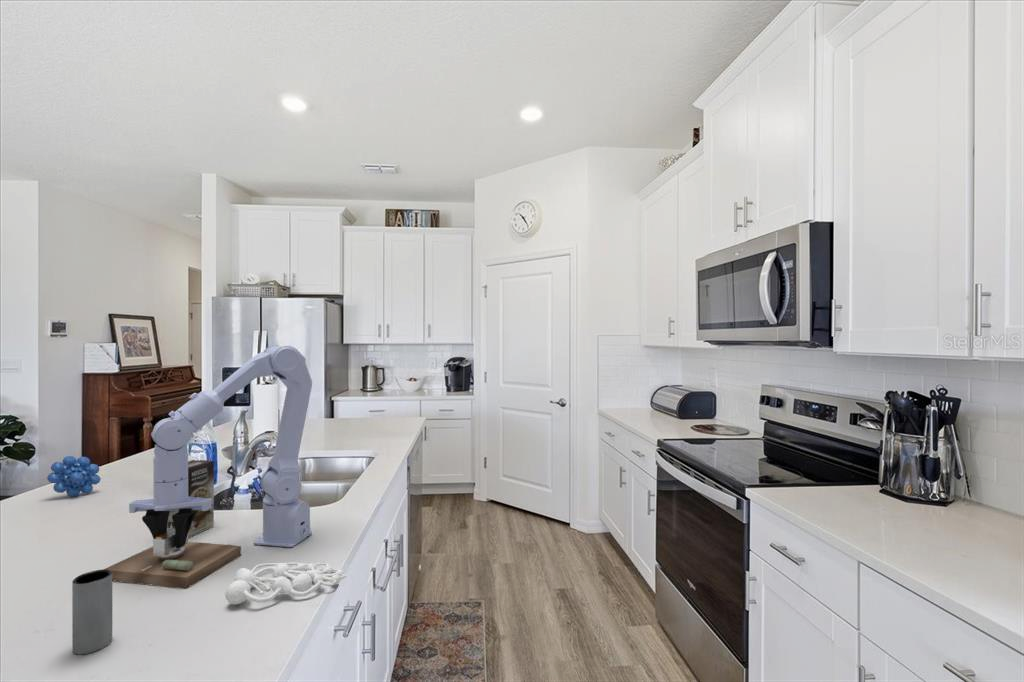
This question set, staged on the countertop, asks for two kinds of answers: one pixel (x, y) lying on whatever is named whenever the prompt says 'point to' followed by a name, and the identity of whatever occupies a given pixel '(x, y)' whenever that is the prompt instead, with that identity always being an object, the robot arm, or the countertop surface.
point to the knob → (167, 546)
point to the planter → (91, 611)
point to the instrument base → (171, 577)
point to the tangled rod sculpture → (281, 581)
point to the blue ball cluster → (74, 476)
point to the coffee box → (199, 495)
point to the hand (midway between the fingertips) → (171, 546)
